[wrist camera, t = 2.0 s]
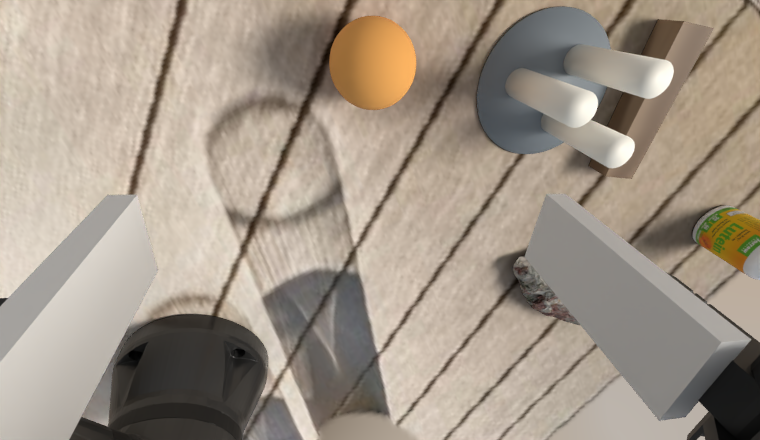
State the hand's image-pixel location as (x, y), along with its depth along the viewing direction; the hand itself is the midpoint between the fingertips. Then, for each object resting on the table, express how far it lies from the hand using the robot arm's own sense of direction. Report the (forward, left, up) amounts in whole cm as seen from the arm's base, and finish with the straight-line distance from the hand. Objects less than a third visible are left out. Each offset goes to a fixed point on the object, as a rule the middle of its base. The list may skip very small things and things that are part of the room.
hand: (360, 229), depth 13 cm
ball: (+3, +3, -17) cm, 17 cm away
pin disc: (+18, +3, -20) cm, 27 cm away
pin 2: (+20, 0, -20) cm, 28 cm away
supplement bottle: (+47, -9, -20) cm, 52 cm away
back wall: (+28, +3, -20) cm, 34 cm away
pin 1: (+20, +5, -20) cm, 29 cm away
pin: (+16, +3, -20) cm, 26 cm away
